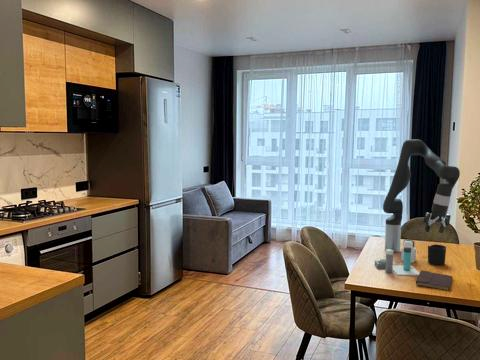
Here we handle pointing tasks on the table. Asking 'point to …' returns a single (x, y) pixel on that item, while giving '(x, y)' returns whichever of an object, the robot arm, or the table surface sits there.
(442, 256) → the pen holder
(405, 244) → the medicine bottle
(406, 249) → the marker
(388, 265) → the grey marker
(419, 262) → the table surface
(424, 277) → the notebook
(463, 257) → the table surface
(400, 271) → the sheet
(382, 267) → the button housing
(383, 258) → the button
